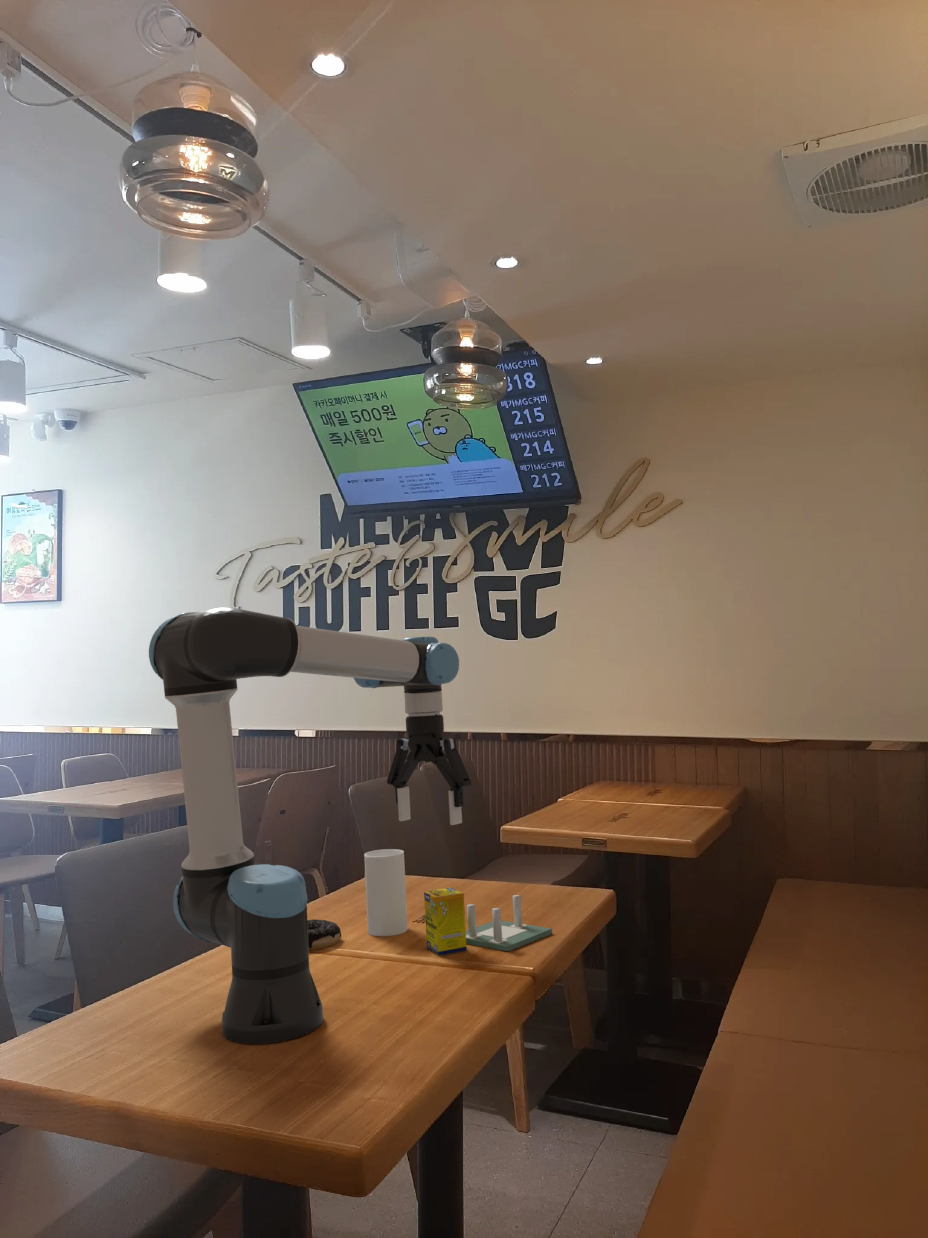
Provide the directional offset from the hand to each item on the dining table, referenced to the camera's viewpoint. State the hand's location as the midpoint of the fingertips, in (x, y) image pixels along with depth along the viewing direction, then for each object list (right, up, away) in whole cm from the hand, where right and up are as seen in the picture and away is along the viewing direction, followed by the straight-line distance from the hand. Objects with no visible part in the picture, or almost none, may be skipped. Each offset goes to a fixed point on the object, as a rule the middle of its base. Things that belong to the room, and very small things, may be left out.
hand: (429, 822), depth 190 cm
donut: (-23, -25, +3) cm, 35 cm away
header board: (+14, -23, -1) cm, 27 cm away
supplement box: (+3, -23, -7) cm, 24 cm away
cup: (-9, -25, +9) cm, 28 cm away
